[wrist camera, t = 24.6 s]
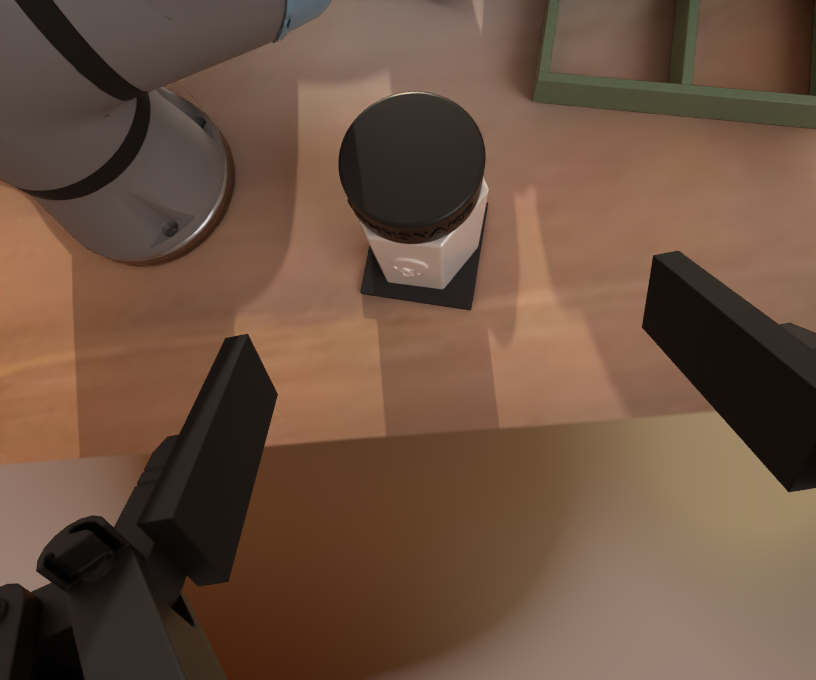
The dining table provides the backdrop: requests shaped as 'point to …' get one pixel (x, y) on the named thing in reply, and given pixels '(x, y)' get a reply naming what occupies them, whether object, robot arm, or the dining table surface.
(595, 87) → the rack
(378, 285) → the mat
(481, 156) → the jar
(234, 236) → the dining table surface
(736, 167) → the dining table surface
